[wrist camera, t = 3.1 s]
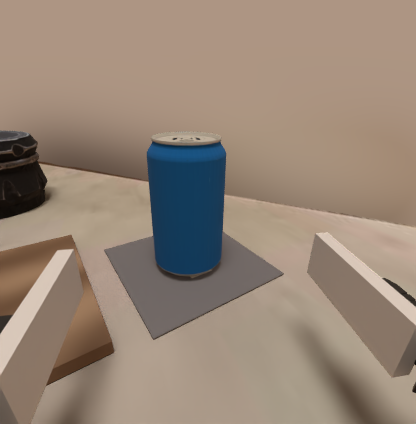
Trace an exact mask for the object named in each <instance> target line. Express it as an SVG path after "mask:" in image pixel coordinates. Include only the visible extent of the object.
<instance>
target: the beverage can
mask: <svg viewBox="0 0 416 424" xmlns="http://www.w3.org/2000/svg"><path fill="white" fill-rule="evenodd" d="M151 140H152V144H151V146H150V147H149V149H148V151H147V163H148V176H149V189H150V201H151V213H152V226H153V238H154V251H155V260H156V262H157V264H158V265H159V266H160V267H161V268H162V269H164V270H166V271H168V272H170V273H172V274H175V275H178V276H185V277H190V276H197V275H200V274H203V273H205V272H207V271H209V270H211V269H212V268H214V267H215V266H216V265H217V264H218V263H219V262H220V260H221V255H222V233H223V211H224V188H225V167H226V166H225V165H226V152H225V149H224V148H223V146H222V145H221V143H220V141H221V136H219V135H216V134H210V133H201V132H169V133H160V134H155V135H153V136H152V137H151Z"/></svg>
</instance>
